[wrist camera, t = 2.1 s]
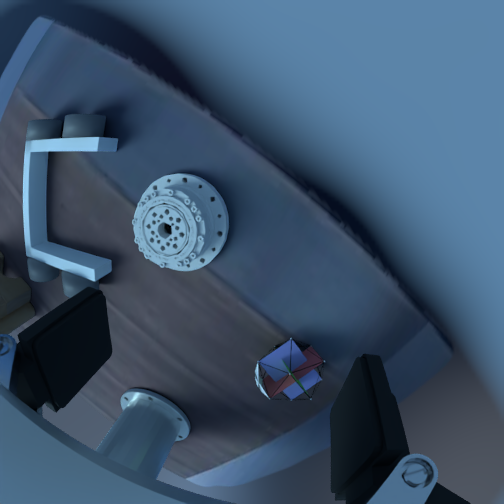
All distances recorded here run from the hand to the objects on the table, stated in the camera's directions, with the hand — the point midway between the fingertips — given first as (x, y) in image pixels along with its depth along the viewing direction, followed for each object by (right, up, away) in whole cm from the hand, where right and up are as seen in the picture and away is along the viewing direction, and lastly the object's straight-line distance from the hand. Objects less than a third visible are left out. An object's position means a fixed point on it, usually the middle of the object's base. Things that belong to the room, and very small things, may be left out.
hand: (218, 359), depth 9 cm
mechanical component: (-6, +7, +20) cm, 22 cm away
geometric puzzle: (+6, -8, +22) cm, 24 cm away
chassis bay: (-21, +10, +21) cm, 31 cm away
